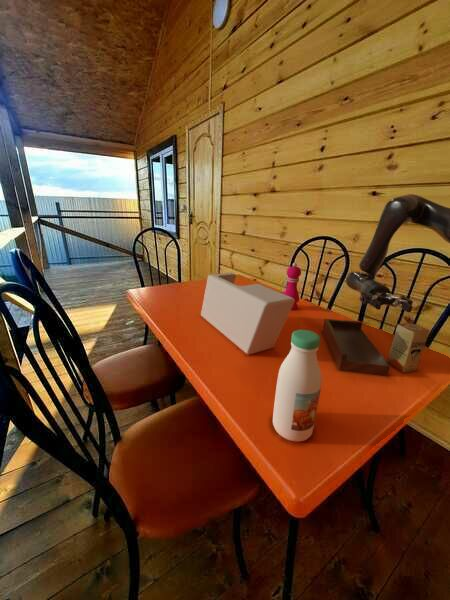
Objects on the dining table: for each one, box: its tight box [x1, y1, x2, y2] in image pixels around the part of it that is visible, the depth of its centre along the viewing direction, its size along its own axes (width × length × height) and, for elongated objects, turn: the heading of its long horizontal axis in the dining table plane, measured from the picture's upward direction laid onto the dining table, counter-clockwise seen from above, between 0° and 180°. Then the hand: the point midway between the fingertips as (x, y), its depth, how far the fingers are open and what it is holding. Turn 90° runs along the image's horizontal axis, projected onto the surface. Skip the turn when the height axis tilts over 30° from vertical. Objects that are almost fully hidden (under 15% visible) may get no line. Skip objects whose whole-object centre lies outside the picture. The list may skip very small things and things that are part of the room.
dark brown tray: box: [322, 318, 391, 377], centre depth 78 cm, size 12×24×5 cm, turn 170°
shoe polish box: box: [386, 322, 431, 373], centre depth 69 cm, size 5×5×12 cm
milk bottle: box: [272, 329, 323, 442], centre depth 46 cm, size 8×8×20 cm
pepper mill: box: [282, 262, 302, 311], centre depth 109 cm, size 7×7×20 cm
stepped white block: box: [200, 272, 295, 355], centre depth 83 cm, size 30×10×30 cm, turn 30°
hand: (394, 308), depth 77 cm, fingers open, 8 cm apart
